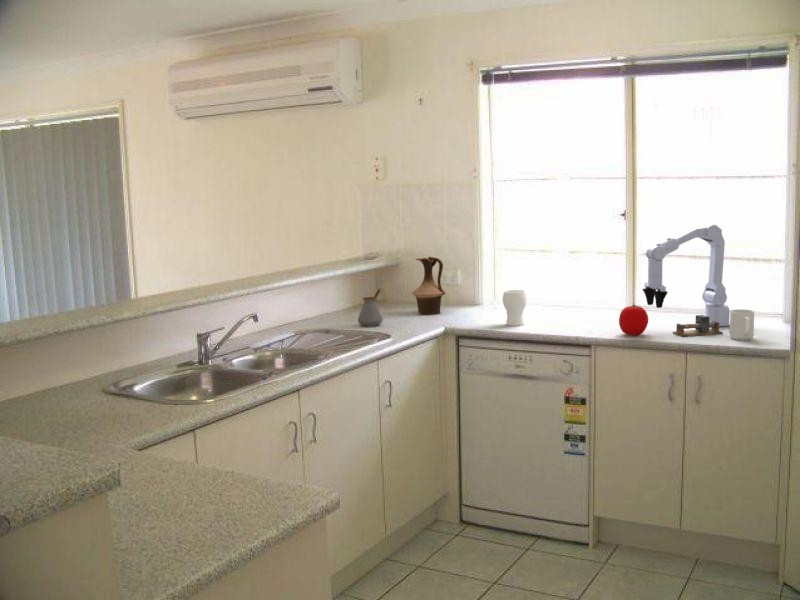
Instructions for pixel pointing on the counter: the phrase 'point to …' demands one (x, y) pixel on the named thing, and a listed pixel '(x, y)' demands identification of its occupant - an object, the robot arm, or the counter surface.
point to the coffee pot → (370, 312)
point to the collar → (702, 323)
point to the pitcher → (429, 288)
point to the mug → (741, 324)
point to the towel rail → (687, 333)
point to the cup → (514, 306)
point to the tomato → (633, 320)
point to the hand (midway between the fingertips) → (654, 306)
